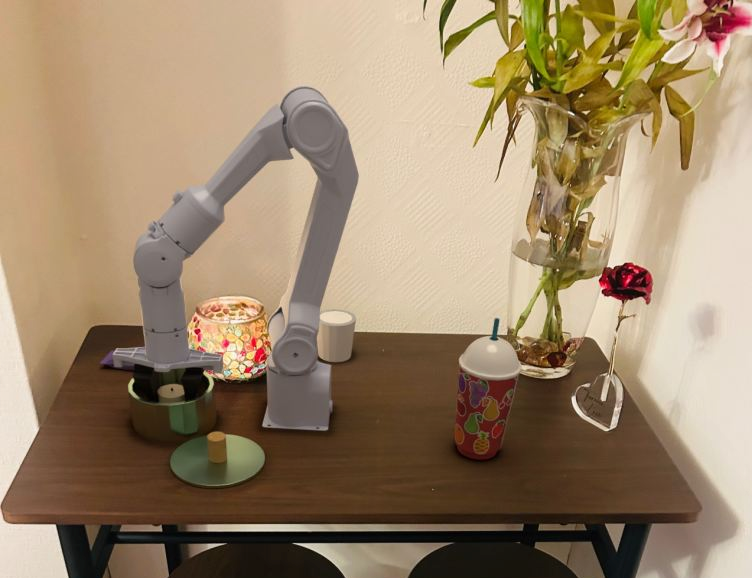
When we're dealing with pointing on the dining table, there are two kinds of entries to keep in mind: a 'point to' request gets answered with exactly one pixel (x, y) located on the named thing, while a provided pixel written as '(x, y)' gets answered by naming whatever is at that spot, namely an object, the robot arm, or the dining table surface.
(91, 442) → the dining table surface
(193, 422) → the tin
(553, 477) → the dining table surface
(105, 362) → the snack package
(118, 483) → the dining table surface
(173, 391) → the candle
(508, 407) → the smoothie
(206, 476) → the tin lid
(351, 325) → the white cup
